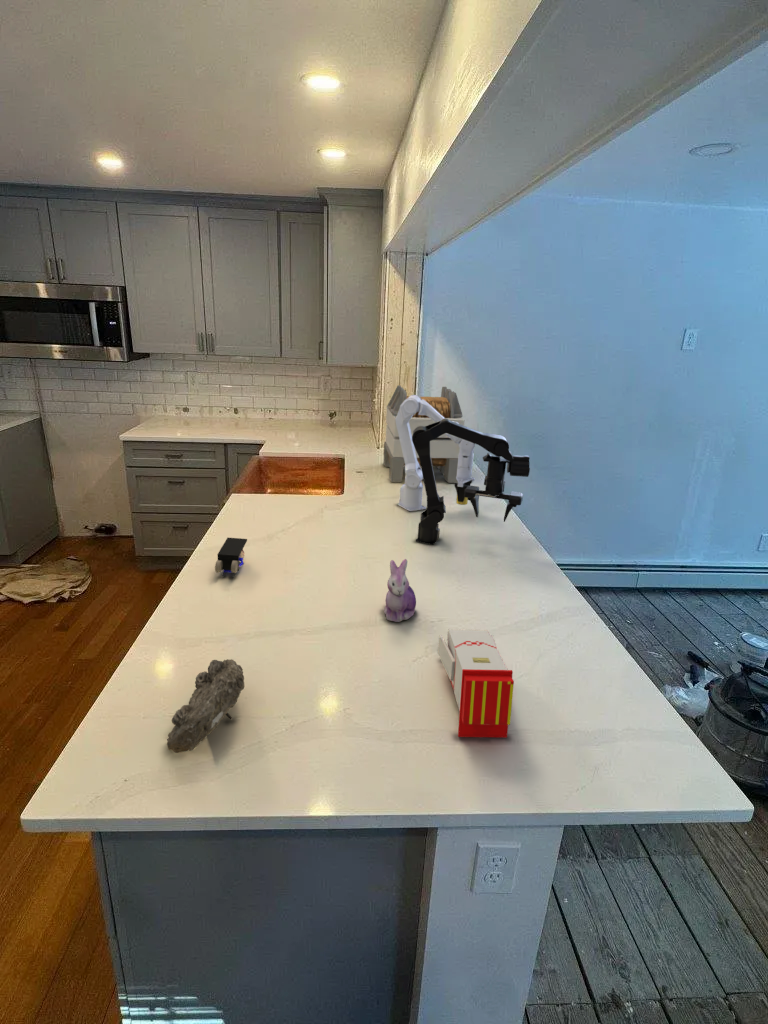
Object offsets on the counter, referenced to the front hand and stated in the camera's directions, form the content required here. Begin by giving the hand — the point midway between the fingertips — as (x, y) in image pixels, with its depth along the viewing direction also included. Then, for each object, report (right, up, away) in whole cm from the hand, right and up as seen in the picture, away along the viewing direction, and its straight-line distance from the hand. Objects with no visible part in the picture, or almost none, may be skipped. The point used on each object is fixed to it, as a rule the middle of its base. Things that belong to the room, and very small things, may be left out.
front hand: (490, 519), depth 191 cm
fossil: (-69, -37, -83) cm, 114 cm away
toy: (-18, -35, -72) cm, 82 cm away
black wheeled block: (-81, -15, -23) cm, 85 cm away
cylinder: (-5, +6, +31) cm, 32 cm away
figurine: (-32, -24, -43) cm, 59 cm away
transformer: (-19, +21, +84) cm, 89 cm away
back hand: (-5, +7, +31) cm, 32 cm away
